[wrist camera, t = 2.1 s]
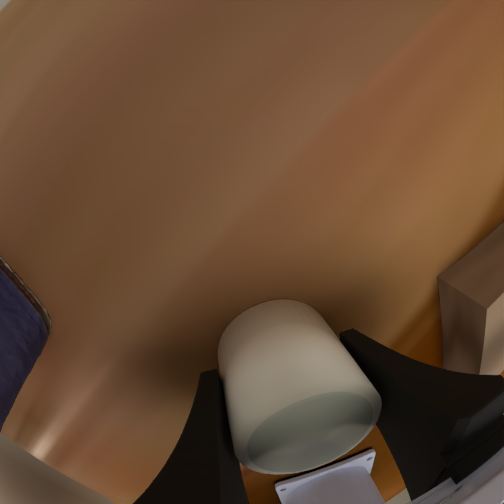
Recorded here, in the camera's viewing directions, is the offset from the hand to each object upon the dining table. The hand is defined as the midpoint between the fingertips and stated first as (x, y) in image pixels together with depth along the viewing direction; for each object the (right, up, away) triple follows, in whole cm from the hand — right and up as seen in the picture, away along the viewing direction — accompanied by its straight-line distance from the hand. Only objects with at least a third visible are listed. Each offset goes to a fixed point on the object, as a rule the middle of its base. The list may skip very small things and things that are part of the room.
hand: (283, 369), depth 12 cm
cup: (0, 0, +1) cm, 1 cm away
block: (+14, +2, +4) cm, 14 cm away
